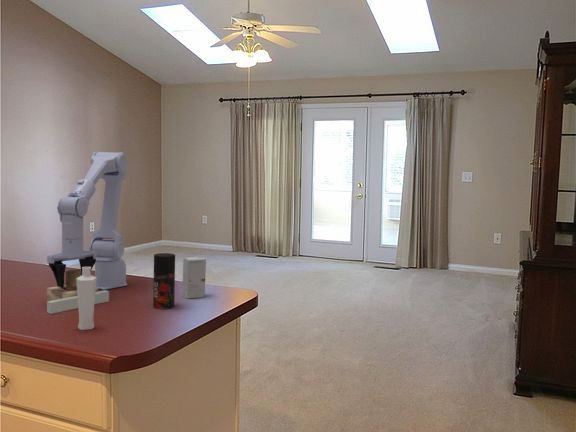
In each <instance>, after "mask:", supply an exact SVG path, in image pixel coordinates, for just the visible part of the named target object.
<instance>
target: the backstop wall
mask: <svg viewBox="0 0 576 432" xmlns="http://www.w3.org/2000/svg"><path fill="white" fill-rule="evenodd" d="M109 301H110V291H109V290H107V289H106V290H100V291H99V290H98V292H95V301H94V306H95V305H98V304H103V303H104V304H105V303H107V302H109ZM75 309H76V310H77V309H78V296H73V297H68V298H63V299H58V300H52V301H47V300H46V313H47V314H50V315H51V314H52V315H53V314H57V313H63V312H66V311H71V310H75Z"/></svg>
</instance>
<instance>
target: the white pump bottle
mask: <svg viewBox="0 0 576 432" xmlns="http://www.w3.org/2000/svg"><path fill="white" fill-rule="evenodd" d="M91 272H92V270H91V267H82V276H80V277H78V278H76V282H77V295H78V308H77V309H78V319H79V320H78V325H77V329H79V330H81V331H86V330H93V329H94V328H95V324H94V323H95V321H94V311H95V305H94V301H95V288H96V277H95V275H92V274H91Z"/></svg>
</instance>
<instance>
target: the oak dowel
mask: <svg viewBox="0 0 576 432" xmlns="http://www.w3.org/2000/svg"><path fill="white" fill-rule="evenodd" d="M80 276H81V269H68V270H65V285H66V290H67V291H73V290H77V282H76V278H78V277H80Z"/></svg>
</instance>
